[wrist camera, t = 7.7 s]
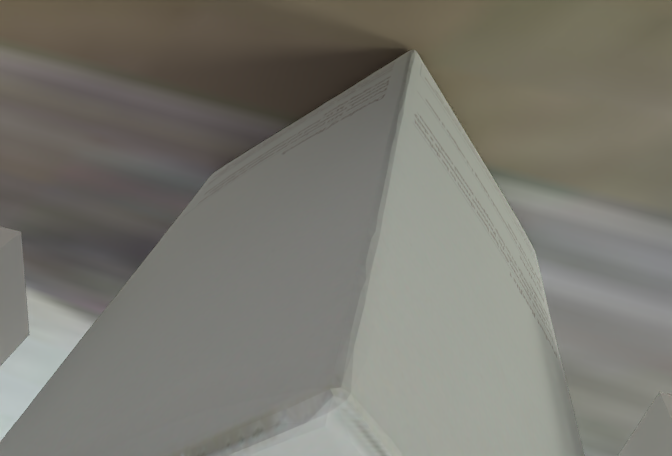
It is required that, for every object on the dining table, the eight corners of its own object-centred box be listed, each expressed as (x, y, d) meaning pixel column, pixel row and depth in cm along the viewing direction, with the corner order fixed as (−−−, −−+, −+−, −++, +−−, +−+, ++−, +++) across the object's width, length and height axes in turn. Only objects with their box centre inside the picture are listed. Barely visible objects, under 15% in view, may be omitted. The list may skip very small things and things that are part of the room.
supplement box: (205, 171, 18) (-144, 577, 8) (418, 39, 16) (351, 387, 5) (337, 342, 21) (218, 837, 10) (542, 256, 18) (688, 815, 7)
